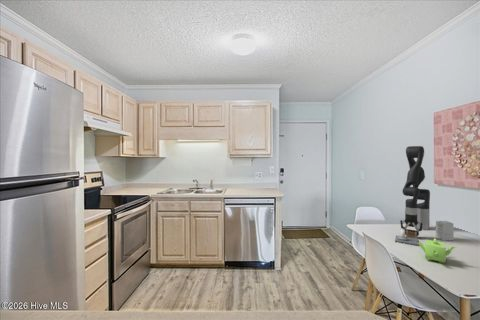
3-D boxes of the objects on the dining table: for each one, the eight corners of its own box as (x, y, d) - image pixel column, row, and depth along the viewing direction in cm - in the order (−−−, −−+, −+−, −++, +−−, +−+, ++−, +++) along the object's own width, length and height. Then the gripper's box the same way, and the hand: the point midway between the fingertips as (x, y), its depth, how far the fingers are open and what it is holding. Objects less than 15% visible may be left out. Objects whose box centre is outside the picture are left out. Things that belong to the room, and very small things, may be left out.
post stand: (395, 236, 180) (395, 226, 179) (417, 240, 172) (417, 229, 172) (395, 242, 169) (395, 230, 169) (417, 246, 162) (417, 234, 161)
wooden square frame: (406, 234, 183) (406, 229, 183) (416, 236, 179) (416, 230, 179) (406, 237, 178) (406, 231, 178) (416, 238, 174) (416, 232, 174)
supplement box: (446, 237, 178) (446, 220, 177) (453, 240, 170) (453, 223, 170) (435, 236, 178) (435, 220, 178) (442, 240, 171) (442, 223, 171)
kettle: (434, 253, 149) (435, 236, 149) (458, 264, 135) (458, 244, 135) (413, 255, 147) (413, 237, 147) (435, 266, 133) (435, 246, 133)
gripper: (422, 213, 177) (422, 235, 178) (399, 211, 186) (399, 232, 186) (423, 215, 171) (423, 238, 171) (399, 213, 179) (399, 234, 180)
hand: (411, 235), depth 179 cm, fingers closed on wooden square frame, 6 cm apart
